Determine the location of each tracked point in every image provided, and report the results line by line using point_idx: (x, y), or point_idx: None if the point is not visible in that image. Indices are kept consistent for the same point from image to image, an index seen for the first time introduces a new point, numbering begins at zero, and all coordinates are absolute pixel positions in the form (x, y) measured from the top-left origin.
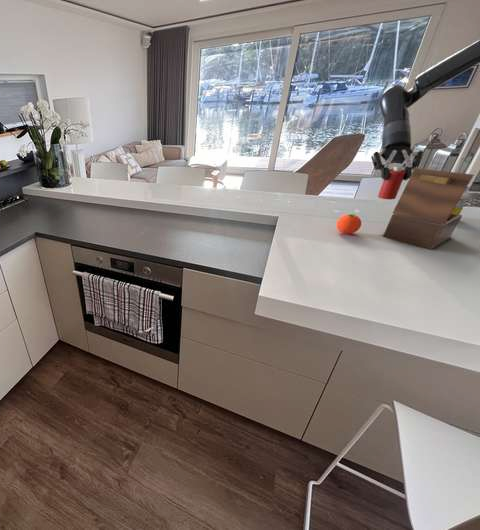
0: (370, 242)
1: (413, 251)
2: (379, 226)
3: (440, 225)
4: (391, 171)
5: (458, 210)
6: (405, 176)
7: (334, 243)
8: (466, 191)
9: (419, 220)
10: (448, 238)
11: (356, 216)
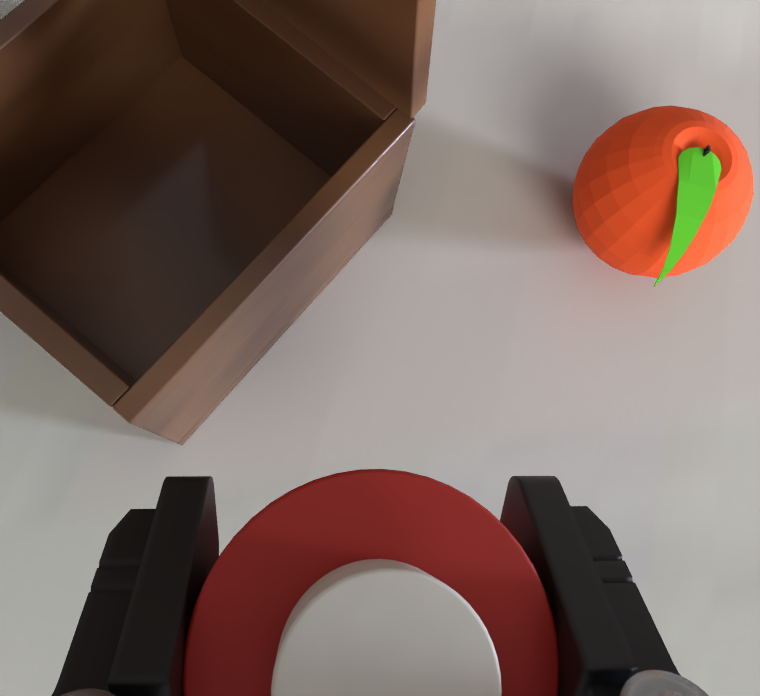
0: (499, 96)
1: None
2: (358, 408)
3: None
4: (509, 562)
5: None
6: (208, 548)
7: (704, 52)
8: None
9: (258, 1)
10: None
11: (666, 140)
